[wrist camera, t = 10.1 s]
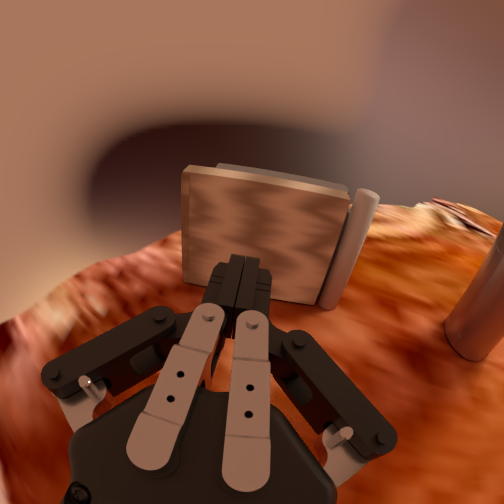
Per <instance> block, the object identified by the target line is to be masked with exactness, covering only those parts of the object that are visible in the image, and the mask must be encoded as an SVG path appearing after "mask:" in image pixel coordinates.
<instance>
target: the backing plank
mask: <svg viewBox="0 0 504 504" xmlns="http://www.w3.org/2000/svg"><path fill="white" fill-rule="evenodd" d="M215 168H218V169H226V170H233V171H239V172H246V173H252V174H259V175H265V176H271V177H276V178H282V179H287V180H293V181H298V182H303V183H308V184H313V185H318V186H323V187H327V188H332V189H336V190H341V191H345V192H347V193H348V195H349V191H348V189H347V187H346V185H341V184H337V183H332V182H328V181H323V180H318V179H313V178H308V177H303V176H298V175H292V174H287V173H282V172H276V171H269V170H264V169H258V168H251V167H244V166H237V165H230V164H223V163H219V164H218V165H217V166H216V167H215ZM379 199H380V197H379V196H378V195H377V194H376V193H374V192H372V191H370V190H367V189H362V188H359V189H357V192H356V195H355V198H354V202H353V205H352V208H351V209H349V208H348V211H347V214H346V217H345V220H344V223H343V226H342V229H341V232H340V235H339V238H338V241H337V244H336V247H335V250H334V253H333V256H332V259H331V261H330V264H329V267H328V270H327V272H326V275H325V278H324V281H323V283H322V286H321V289H320V291H319V296H320V298H319V301H318V302H319V305H320V306H321V307H322V308H323V309H326V310H334V309H335V308H336V306H337V304H338V302H339V300H340V297H341V295H342V293H343V291H344V289H345V286H346V284H347V282H348V279H349V277H350V275H351V272H352V270H353V268H354V265H355V263H356V260H357V258H358V255H359V253H360V250H361V248H362V245H363V243H364V240H365V238H366V235H367V232H368V230H369V227H370V224H371V222H372V219H373V216H374V213H375V210H376V208H377V205H378V202H379Z"/></svg>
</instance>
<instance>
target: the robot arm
mask: <svg viewBox="0 0 504 504" xmlns="http://www.w3.org/2000/svg"><path fill="white" fill-rule="evenodd" d="M259 263H260V258H256V257H249V256H246V260H245V256H243V255H237V254H231V256H230V260H229V263H224V262H219V263H218V264H217V265H216V266H215V267H214V268H213V271H212V273H211V276H210V279H209V282H208V285H207V288H206V291H205V294H204V297H203V300H202V302H201V305H199V306H197V307H196V308H195V310H194V311H192V312H189V313H182V314H175V313H174V312H173V310H172V309H170V308H169V307H166V306H156V307H153V308H151V309H149V310H147V311H145V312H143V313H141V314H139V315H138V316H136V317H134V318H132V319H130V320H128V321H126V322H124V323H122V324H120V325H119V326H117V327H115V328H113V329H111V330H109V331H107V332H105V333H103V334H101V335H99V336H98V337H96V338H94V339H92V340H90V341H88V342H86V343H84V344H82V345H80V346H79V347H77V348H75V349H73V350H71V351H69V352H67V353H65V354H63V355H61V356H59V357H58V358H56V359H54V360H52V361H50V362H48V363H47V364H46V365H45V366H44V367H43V369H42V372H41V379H42V382H43V384H44V385H45V386H46V387H47V388H48V389H49V390H50V391H51V393H52V394H53V395H54V396H55V397H56V398H57V399H58V401H59V403H60V406H61V408H62V410H63V412H64V414H65V416H66V418H67V420H68V422H69V424H70V426H71V428H72V430H73V432H74V434H73V435H72V437H71V439H70V441H69V445H68V456H69V461H70V468H71V481H70V486H69V488H68V490H67V492H66V494H65V496H64V498H63V499H62V501H61V503H60V504H336V502H337V489H336V488H337V487H339V486H340V485H341V484H343V483H344V482H345V481H346V480H348V479H349V478H350V477H352V476H353V475H354V474H355V473H356V472H358V471H359V470H360V469H361V468H362V467H364V466H365V465H366V464H367V463H368V462H370V461H372V460H374V459H376V458H378V457H380V456H383V455H385V454H387V453H389V452H390V451H392V450H393V449H394V447H395V445H396V443H397V433H396V431H395V429H394V428H393V427H392V426H391V425H390V423H389V422H388V421H387V420H386V419H385V418H384V417H383V416H382V415H381V414H380V412H379V411H378V410H377V409H376V408H375V407H374V406H373V405H372V404H371V402H370V401H369V400H368V399H367V398H366V397H365V396H364V395H363V394H362V392H361V391H360V390H359V389H358V388H357V387H356V386H355V385H354V384H353V382H352V381H351V380H350V379H349V378H348V377H347V376H346V375H345V373H344V372H343V371H342V370H341V369H340V368H339V367H338V366H337V364H336V363H335V362H334V361H333V360H332V359H331V358H330V357H329V355H328V354H327V353H326V352H325V351H324V350H323V349H322V348H321V346H320V345H319V344H318V343H317V342H316V341H315V340H314V338H313V337H312V336H311V335H310V334H308V333H307V332H305V331H302V330H292V331H289V332H288V333H286V332H284V331H282V330H280V329H278V328H276V327H275V326H274V325H273V324H272V323H271V322H270V320H269V305H270V295H271V285H272V275H271V273H270V271H269V270H268V269H262V268H259ZM444 327H445V333H446V336H447V338H448V340H449V342H450V344H451V345H452V347H453V348H454V349H455V350H456V351H457V352H458V353H459V354H460V355H461V356H463V357H464V358H466V359H468V360H471V361H479V360H482V359H483V358H484V357H485V356H486V355H487V354H488V353H489V352H490V351H491V350H492V349H493V348H494V347H495V346H496V345H497V344H498V343H499V341H500V340H501V339H502V338H503V337H504V222H503V225H502V227H501V229H500V231H499V233H498V235H497V237H496V239H495V241H494V243H493V245H492V247H491V249H490V251H489V253H488V254H487V256H486V258H485V260H484V262H483V263H482V265H481V267H480V269H479V270H478V272H477V274H476V275H475V277H474V279H473V280H472V282H471V283H470V285H469V287H468V288H467V290H466V291H465V293H464V294H463V296H462V297H461V299H460V300H459V302H458V303H457V305H456V306H455V307H454V309H453V310H452V312H451V313H450V315H449V316H448V317H447V319H446V321H445V326H444ZM232 330H233V333H232ZM231 334H232V339H235V342H234V351H233V360H232V370H231V380H230V390H229V392H213V391H211V387H212V382H213V379H214V376H215V373H216V370H217V367H218V364H219V360H220V357H221V354H222V351H223V347H224V344H225V339H226V338H230V339H231ZM162 368H163V369H162ZM161 369H162V371H161V373H160V375H159V378H158V380H157V382H156V384H153V385H150V386H148V387H146V388H144V389H142V390H140V391H139V392H137V393H136V394H134V395H133V396H131V397H130V398H128V399H126V400H125V401H123V402H122V403H120V404H118V405H117V406H115V407H114V408H112V409H111V407H112V405H113V402H114V399H113V397H115V396H117V395H118V394H120V393H122V392H124V391H125V390H127V389H129V388H131V387H132V386H134V385H136V384H137V383H139V382H141V381H142V380H144V379H146V378H148V377H149V376H151V375H153V374H154V373H156V372H157V371H159V370H161ZM270 373H271V374H273V377H274V379H275V380H276V382H277V383H278V384H279V386H280V387H281V388H282V390H283V391H284V392H285V394H286V395H287V396H288V398H289V399H290V400H291V402H292V403H293V404H294V405H295V407H296V408H297V409H298V411H299V412H300V413H301V414H302V416H303V417H304V418H305V419H306V421H307V422H308V423H309V424H310V426H311V427H312V428H313V429H314V431H315V432H316V433H317V434H318V436H317V437H316V439H315V442H314V448H315V451H316V452H317V454H318V456H319V462H318V461H317V459H316V458H315V457H314V455H313V454H312V453H311V451H310V450H309V449H308V447H307V446H306V444H305V443H304V442H303V440H302V439H301V438H300V436H299V435H298V433H297V432H296V431H295V429H294V428H293V426H292V425H291V424H290V422H289V421H288V419H287V418H286V417H285V415H284V414H283V413H282V412H281V411H280V410H279V409H278V408H276V407H275V406H273V405H272V404H270Z"/></svg>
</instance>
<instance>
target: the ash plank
mask: <svg viewBox="0 0 504 504" xmlns="http://www.w3.org/2000/svg"><path fill="white" fill-rule="evenodd" d="M350 201H351V200H350V197H349V195H348V193H347V192H345V191H341V190H336V189H332V188H327V187H323V186H318V185H313V184H308V183H303V182H298V181H293V180H287V179H282V178H276V177H271V176H265V175H259V174H252V173H246V172H239V171H233V170H226V169H218V168H211V167H202V166H194V165H189V166H188V167H187V168H186V169H185V170H184V171H183V173H182V184H181V228H182V229H181V233H182V269H183V281H184V282H188V283H193V284H198V285H202V286H207V285H208V282H209V279H210V276H211V273H212V271H213V268H214V267H215V266H216V265H217V264H218V263H219V262H224V263H229V260H230V256H231V254H237V255H243V256H245V260H246V256H249V257H256V258H260V263H259V268H262V269H268V270H269V271H270V273H271V275H272V285H271V295H270V298H273V299H278V300H284V301H291V302H297V303H303V304H309V305H314V304H315V302H316V299H317V296H318V294H319V291H320V289H321V286H322V283H323V281H324V278H325V275H326V272H327V270H328V267H329V264H330V261H331V259H332V256H333V253H334V250H335V247H336V244H337V241H338V238H339V235H340V232H341V229H342V226H343V223H344V220H345V217H346V214H347V211H348V207H349V204H350Z"/></svg>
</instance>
